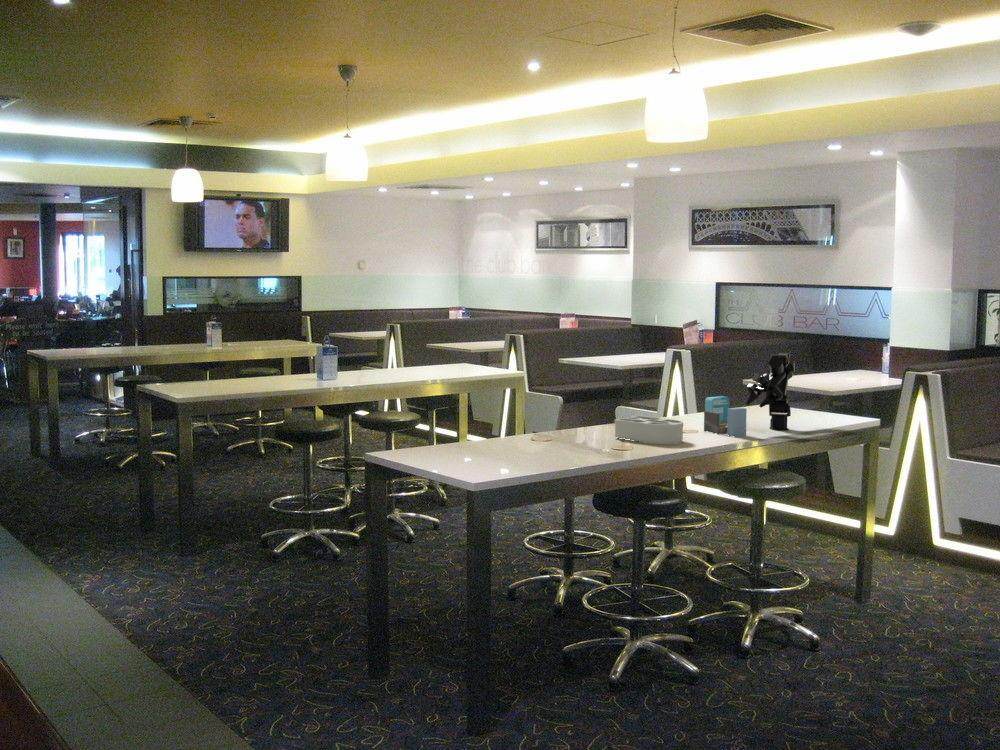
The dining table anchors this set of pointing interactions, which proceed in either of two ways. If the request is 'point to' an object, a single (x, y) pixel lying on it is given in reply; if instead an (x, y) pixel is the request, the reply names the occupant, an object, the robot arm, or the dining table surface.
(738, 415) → the blue angular block
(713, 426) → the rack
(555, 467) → the dining table surface
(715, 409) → the data package
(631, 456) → the dining table surface
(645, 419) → the ice cube tray
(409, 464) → the dining table surface
